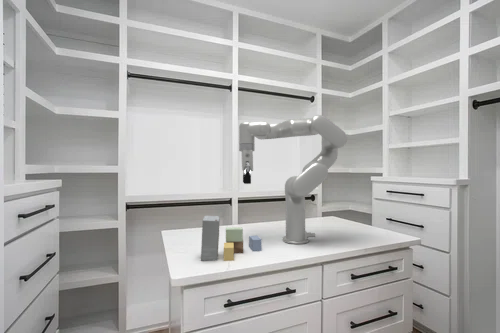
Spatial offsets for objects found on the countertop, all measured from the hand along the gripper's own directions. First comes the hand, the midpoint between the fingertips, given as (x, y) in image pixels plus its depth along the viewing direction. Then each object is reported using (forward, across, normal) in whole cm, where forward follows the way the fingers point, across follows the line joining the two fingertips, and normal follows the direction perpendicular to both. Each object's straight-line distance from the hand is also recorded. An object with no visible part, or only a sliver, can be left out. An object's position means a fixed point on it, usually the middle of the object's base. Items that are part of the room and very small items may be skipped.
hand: (246, 183), depth 123 cm
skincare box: (+28, -21, +16) cm, 39 cm away
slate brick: (+28, -11, -3) cm, 31 cm away
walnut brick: (+28, -15, +6) cm, 33 cm away
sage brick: (+23, -15, +6) cm, 28 cm away
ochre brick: (+28, -22, +8) cm, 37 cm away
